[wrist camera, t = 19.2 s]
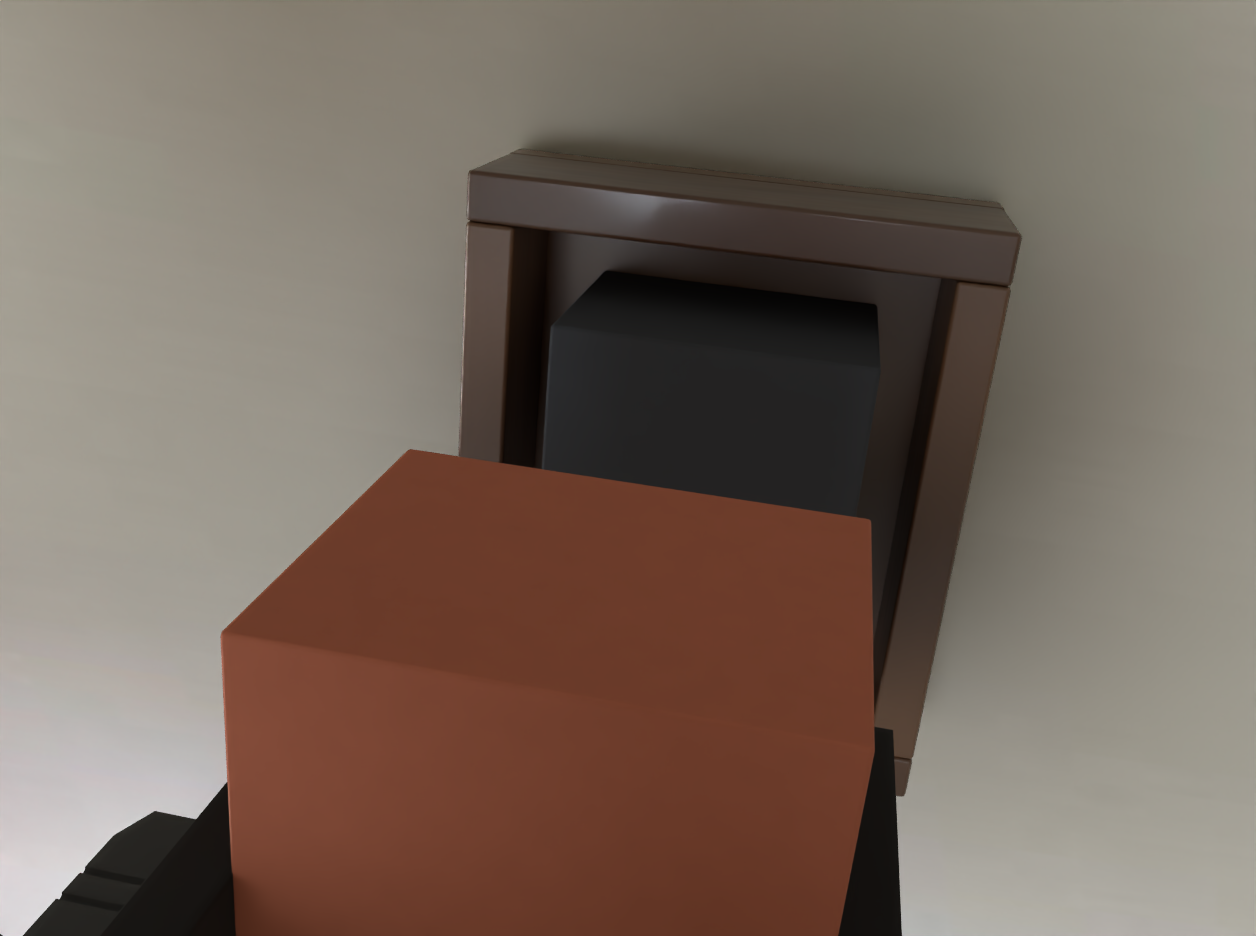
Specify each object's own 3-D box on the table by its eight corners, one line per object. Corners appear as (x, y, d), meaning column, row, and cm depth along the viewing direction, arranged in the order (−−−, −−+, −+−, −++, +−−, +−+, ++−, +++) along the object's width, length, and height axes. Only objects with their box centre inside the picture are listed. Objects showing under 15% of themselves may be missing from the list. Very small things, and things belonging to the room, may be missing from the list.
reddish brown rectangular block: (408, 447, 16) (217, 632, 11) (871, 518, 15) (874, 750, 10) (399, 924, 19) (247, 1226, 14) (783, 1005, 18) (755, 1354, 13)
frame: (518, 148, 26) (466, 170, 23) (1001, 202, 25) (1023, 234, 22) (494, 637, 31) (448, 716, 28) (900, 706, 30) (904, 798, 26)
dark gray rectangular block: (604, 269, 26) (549, 324, 22) (877, 304, 25) (881, 368, 21) (578, 589, 29) (526, 698, 25) (823, 629, 28) (815, 749, 24)
